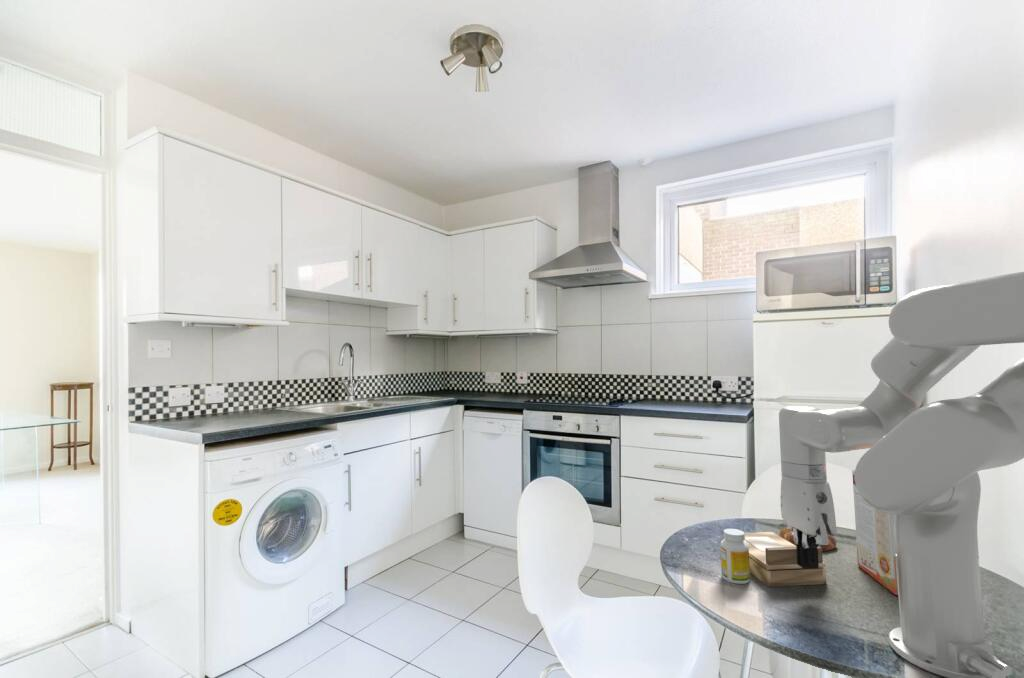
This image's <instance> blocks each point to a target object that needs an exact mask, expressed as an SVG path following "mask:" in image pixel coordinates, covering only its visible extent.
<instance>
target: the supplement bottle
mask: <svg viewBox="0 0 1024 678" xmlns="http://www.w3.org/2000/svg"><path fill="white" fill-rule="evenodd" d="M744 533H745V531H743V530H740V529H737V528H725V529H724V530H723V534H724V535H723V534H722V535H723V536H724V538H723V539H722V540H721V541H720V545H719V546H720V547H719V548H720V565H721V566H720V567H721V569H720V571H721V577H722V578H723V580H725V581H726V582H729V583H732V584H737V585H738V584H739V585H743V584H744V585H745V584H748V583H749V582H750V581H751V573H750V567H749V547H748V545H747V543H746V542H744V539H745V534H744ZM723 536H722V537H723Z"/></svg>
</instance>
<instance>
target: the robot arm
mask: <svg viewBox="0 0 1024 678" xmlns="http://www.w3.org/2000/svg"><path fill="white" fill-rule="evenodd" d="M888 328H889V331H890V332H891V334H892V336H893V337H892V339H890V341H887V344H885V345H884V346H883V348H882V349H880V350H879V351H878V352H877V354H875V355H874V356H873V358H872V359H871V362H870V367H871V370H872V372H873V374H875V376H876V377H877V378H878V380H879V381H878V383H877V386H875V388H874V390H873V391H872V392H871V393H870V394H869V395H867V397H866V398H864V399H863V400H862V401H861V402H860V403H859V404H858V405H857V406H855V407H846V408H834V409H823V410H822V409H819V408H817V407H813V406H804V405H801V406H798V405H797V406H795V405H791V406H790V405H789V406H784V407H782V408H781V409H780V410H779V413H778V425H779V427H778V428H779V446H780V448H779V450H780V452H779V453H780V468H781V471H780V472H781V480H780V481H781V483H780V513H781V518H782V521H784V522H785V524H786V527H787V526H788V527H789V528H790V529H791V530H792V532H793V535H794V541H795V543H796V549H797V564H798V565H799V566H801V567H802V568H803V569H813V568H818V567H819V562H818V548H820V545H828V544H829V540H828V536H827V534H828V535H831V536H833V537H834V536H835V535H836V534H837V519H836V512H835V504H834V498H833V493H832V489H831V486H830V482H828V479H827V478H828V477H827V459H826V458H827V457H826V453H844V452H851V451H858V450H866V449H868V450H867V451H866V452H865V453H864V454H863V455H862V456H861V457H860V458H859V460H858V462H857V463H856V466H855V469H854V470H855V484H856V487H857V490H858V492H859V493H860V495H861V496H862V498H863V499H864V500H865V501H866V502H867V503H868V504H870V505H871V506H872V507H874V508H876V509H878V510H880V511H882V512H885V513H888V514H893V515H896V516H895V524H894V536H895V554H896V569H897V583H898V595H897V596H898V606H899V607H898V609H899V610H898V611H899V625H900V626H898V627H894V628H893V629H891V630H890V631H889V633H888V641H889V645H890V647H891V648H892V650H894V651H895V653H896V654H897V655H899V656H901V657H902V658H903V659H904V660H905V661H908V662H909V663H911V664H912V665H914V666H917V667H918V668H920V669H922V670H925V671H927V672H930V673H932V674H936V675H938V676H941V677H944V678H1007V677H1010V676H1011V675H1012V674H1013V669H1012V667H1011V666H1010V665H1008V664H1007V663H1005V662H1003V661H1001V660H999V658H997V656H995V655H994V647H993V646H994V645H993V643H992V642H990V641H989V640H987V639H985V636H986V635H985V625H984V624H985V623H984V613H983V611H984V610H983V600H982V586H981V584H982V583H981V574H980V564H979V563H980V561H979V559H980V555H979V543H978V541H979V540H978V520H979V510H980V503H981V502H980V501H981V489H982V486H981V479H980V476H979V475H980V474H979V472H980V471H985V470H991V469H997V468H1001V467H1006V466H1009V465H1012V464H1013V465H1014V464H1015V463H1017V462H1020V461H1022V460H1024V357H1023V358H1021V359H1020V360H1017V362H1015V363H1013V364H1012V365H1011V366H1010V367H1008V368H1007V369H1006V370H1004V371H1003V372H1002V373H1001V374H1000V375H999V376H998V377H996V379H994V380H993V381H992V382H990V383H988V384H987V385H986V386H984V387H983V388H982V389H980V390H979V391H977V392H976V393H974V394H972V395H969V396H965V397H960V398H959V397H958V398H950V399H943V400H936V401H933V402H930V403H928V404H925V405H923V406H922V403H923V402H924V399H925V396H926V394H927V392H929V391H930V390H931V389H932V388H933V387H935V386H936V384H938V383H939V382H940V381H941V380H943V378H944V377H945V376H947V375H949V373H950V372H951V371H952V370H954V369H955V368H956V367H957V366H958V365H959V364H961V363H962V362H963V361H964V360H965V359H967V358H969V356H971V354H973V353H974V352H975V351H976V350H977V349H978V348H979V347H981V346H990V345H992V346H993V345H1003V344H1004V345H1005V344H1023V343H1024V271H1020V272H1013V273H1007V274H1002V275H1001V274H1000V275H996V276H991V277H986V278H979V279H974V280H968V281H963V282H956V283H950V284H945V285H938V286H932V287H927V288H925V287H924V288H921V289H918V290H915V291H912V292H910V293H908V294H906V295H904V296H903V297H902V298H900V299H899V300H898V301H896V303H895V304H894V306H893V307H892V309H891V311H890V313H889V317H888ZM921 406H922V407H921ZM811 536H813V537H811Z"/></svg>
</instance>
